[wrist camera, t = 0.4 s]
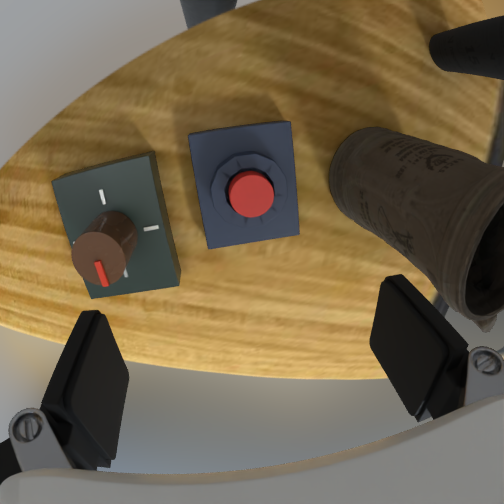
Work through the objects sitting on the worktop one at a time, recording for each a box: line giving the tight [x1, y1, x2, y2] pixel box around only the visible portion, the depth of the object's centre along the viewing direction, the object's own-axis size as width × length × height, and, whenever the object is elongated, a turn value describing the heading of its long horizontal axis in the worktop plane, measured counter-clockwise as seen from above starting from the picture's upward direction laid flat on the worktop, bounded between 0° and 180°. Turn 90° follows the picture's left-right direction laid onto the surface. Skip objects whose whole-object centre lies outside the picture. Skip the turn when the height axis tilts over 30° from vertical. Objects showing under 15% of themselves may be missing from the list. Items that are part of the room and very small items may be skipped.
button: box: [229, 171, 274, 217], centre depth 26 cm, size 4×4×2 cm
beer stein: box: [329, 127, 504, 333], centre depth 23 cm, size 15×11×20 cm
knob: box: [72, 211, 138, 287], centre depth 25 cm, size 5×5×5 cm
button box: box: [188, 121, 300, 249], centre depth 28 cm, size 11×9×4 cm
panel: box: [52, 151, 181, 299], centre depth 28 cm, size 13×10×3 cm
